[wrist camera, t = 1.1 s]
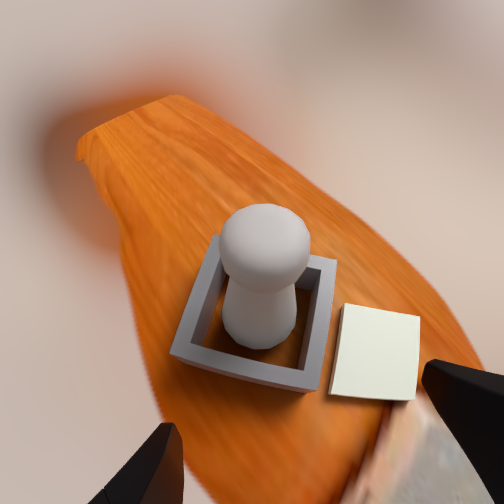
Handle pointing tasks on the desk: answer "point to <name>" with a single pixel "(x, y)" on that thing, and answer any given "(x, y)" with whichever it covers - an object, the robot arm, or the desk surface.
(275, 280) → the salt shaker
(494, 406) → the robot arm
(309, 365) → the frame
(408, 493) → the desk surface
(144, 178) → the desk surface
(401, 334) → the pad
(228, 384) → the desk surface
